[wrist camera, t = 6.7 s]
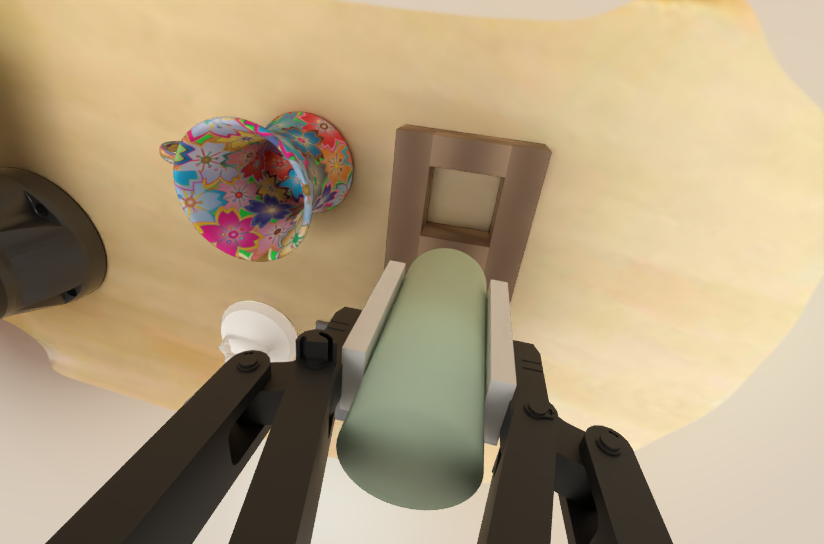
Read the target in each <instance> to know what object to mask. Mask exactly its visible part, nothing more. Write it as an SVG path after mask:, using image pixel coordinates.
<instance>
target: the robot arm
mask: <svg viewBox="0 0 824 544" xmlns="http://www.w3.org/2000/svg"><path fill="white" fill-rule="evenodd" d="M405 266H406V263H402V262H396V261H391V260H390V261H389V263H388V265H387V267H386V268H385V270H384V272H383V274H382V276H381V278H380V279H379V281H378V283H377V285H376V287H375V288H374V290H373V292H372V294H371V296H370V298H369V299H368V301H367V303H366V305H365V307H364V309H363V310H359V309H354V308H349V307H344V308H342V309H341V310H339V311H338V312H336V313H335V315H334V316H333V318H332V319H331V322H329V324H328V325H327V328H325V330H321V329H316V330H309V331H306V332H304V333H302V334H300V335H299V336H298V337H297V339H296V340H295V342H296V360H295V361H290V362H270V357H269V356H268V355H267V354H266V353H264V352H262V351H257V350H249V351H243V352H241V353H238V354H236V355H234V356H233V357H232V358H230V359H229V360H228V361H227V362H226V363H225V364H224V365H223V366H222V367H221V368H220V369H219V370H218V371H217V372H216V373H215V374H214V375H213V376H212V377H211V378H210V379H209V380H208V381H207V382H206V383H205V384H204V385H203V386H202V387H201V388H200V389H199V390H198V391H197V392H196V393H195V394H194V395H193V396H192V397H191V398H190V399H189V400H188V401H187V402H186V403H185V404H184V405H183V406H182V407H181V408H180V409H179V410H178V411H177V412H176V413H175V414H174V415H173V416H172V418H170V419H169V420H168V421H167V422H166V424H165V425H163V426H162V427H161V428H160V430H158V431H157V432H156V433H155V434H154V435H153V437H151V438H150V439H149V440H148V441H147V442H146V443H145V444H144V445H143V446H142V447H141V448H140V449H139V450H138V451H137V452H136V453H135V454H134V455H133V456H132V457H131V458H130V459H129V460H128V461H127V462H126V463H125V465H123V466H122V467H121V468H120V470H118V471H117V472H116V473H115V474H114V475H113V476H112V478H110V479H109V481H107V482H106V483H105V485H103V486H102V487H101V488H100V489H99V490H98V491H97V492H96V493H95V494H94V495H93V496H92V498H90V499H89V500H88V501H87V502H86V503H85V505H83V506H82V508H80V509H79V511H77V512H76V513H75V515H74V516H72V518H71V519H69V520H68V522H67V523H65V524H64V525H63V526H62V527H61V528H60V529H59V530H58V531H57V533H55V535H53V536H52V537H51V539H50V540H48V541H47V542H46V543H45V544H192V543H193V541H194V540H195V539H196V537H197V536H198V534H199V533H200V531H201V530H202V528H203V527H204V525H205V524H206V522H207V521H208V519H209V518H210V517H211V515H212V513H213V512H214V511H215V509H216V508H217V506H218V505H219V503H220V502H221V500H222V499H223V497H224V496H225V495H226V493H227V492H228V490H229V489H230V487H231V486H232V484H233V483H234V481H235V480H236V478H237V477H238V475H239V474H240V473H241V471H242V470H243V468H244V467H245V465H246V464H247V462H248V461H249V459H250V458H251V456H252V455H253V454H254V452H255V451H256V449H257V448H258V446H259V445H260V443H261V442H262V440H263V439H264V437H265V436H266V434H267V433H268V431H269V430H270V429H271V430H270V432H269V435H268V438H267V441H266V443H265V446H264V449H263V452H262V454H261V457H260V460H259V462H258V465H257V468H256V470H255V473H254V476H253V479H252V481H251V484H250V487H249V489H248V492H247V495H246V498H245V501H244V504H243V506H242V509H241V512H240V514H239V517H238V519H237V522H236V525H235V528H234V530H233V533H232V536H231V538H230V541H229V544H310V543H311V538H312V532H313V527H314V522H315V517H316V512H317V507H318V501H319V497H320V492H321V487H322V482H323V476H324V472H325V466H326V461H327V456H328V451H329V446H330V441H331V436H332V431H333V426H334V421H335V409H336V406H337V404H338V402H339V400H340V409H342V410H346V411H349V409H350V406H351V404H352V402H353V399H354V397H355V395H356V392H357V390H358V388H359V385H360V383H361V381H362V378H363V376H364V373H365V371H366V369H367V366H368V364H369V362H370V359H371V357H372V355H373V352H374V350H375V348H376V345H377V343H378V340H379V338H380V336H381V333H382V331H383V329H384V326H385V324H386V322H387V319H388V317H389V315H390V312H391V310H392V308H393V305H394V303H395V300H396V298H397V296H398V293H399V291H400V289H401V286H402V284H403V282H404V274H405ZM105 271H106V259H105V253H104V249H103V246H102V243H101V240H100V238H99V236H98V234H97V232H96V230H95V228H94V226H93V225H92V223H91V222H90V220H89V219H88V217H87V216H86V215H85V213H84V212H83V211H82V210H81V208H80V207H79V206H78V205H77V204H76V203H75V202H74V201H73V200H72V199H71V198H70V197H69V196H68V195H67V194H66V193H64V192H63V191H62V190H61V189H60V188H58V187H57V186H55V185H54V184H53V183H51V182H49V181H48V180H46V179H44V178H43V177H41V176H39V175H36V174H34V173H32V172H29V171H26V170H22V169H18V168H0V319H2V318H4V317H7V316H11V315H15V314H20V313H25V312H29V311H34V310H39V309H44V308H48V307H53V306H58V305H62V304H67V303H70V302H73V301H75V300H78V299H79V298H81V297H83V296H85V295H87V294H89V293H91V292H93V291H94V290H95V289H97V288H98V287H99V286H100V284H101V283H102V281H103V279H104V276H105ZM499 437H500V449H499V452H498V455H497V458H496V461H495V464H494V467H493V470H492V472H493V476H492V480H491V485H490V489H489V494H488V498H487V502H486V507H485V512H484V516H483V520H482V524H481V529H480V533H479V537H478V542H477V544H550V542H551V526H552V510H553V495H554V491H555V492H557V493H558V495H559V500H560V505H561V510H562V514H563V520H564V524H565V529H566V534H567V539H568V544H673V543H672V540H671V538H670V535H669V533H668V531H667V528H666V526H665V524H664V522H663V519H662V517H661V514H660V512H659V510H658V507H657V505H656V503H655V500H654V498H653V496H652V493H651V491H650V489H649V486H648V484H647V482H646V479H645V477H644V475H643V472H642V470H641V468H640V465H639V463H638V461H637V458H636V456H635V454H634V451H633V449H632V447H631V446H630V444H629V443H628V441H627V440H626V439H625V438H624V437H623V436H621V435H620V434H619V433H617V432H616V431H614V430H612V429H610V428H607V427H604V426H595V425H594V426H592V427H589V428H588V429H587V431H586V432H585V431H583V430H580V429H578V428H576V427H574V426H572V425H570V424H568V423H567V422H565V421H563V420H562V419H561V418H560V417H558V413H557V411H556V409H555V408H554V406H553V405H552V404H551V403H550V402H549V400H548V395H547V389H546V384H545V378H544V373H543V367H542V362H541V356H540V353H539V352H538V350H537V349H536V348H535V346H534V345H533V344H529V343H524V342H519V341H515V340H513V338H512V326H511V315H510V303H509V292H508V282H502V281H497V280H492V279H491V281H490V285H489V289H488V293H487V297H486V346H485V412H484V443H487V444H491V445H496V446H497V443H498V440H499Z"/></svg>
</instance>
